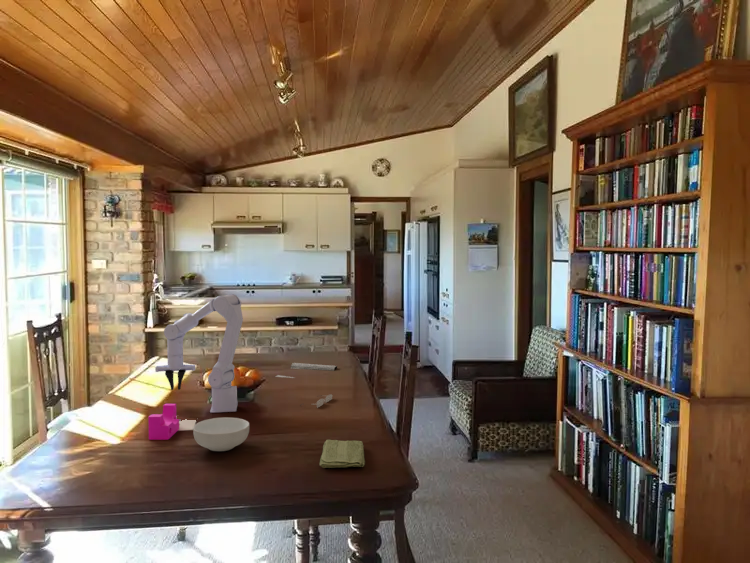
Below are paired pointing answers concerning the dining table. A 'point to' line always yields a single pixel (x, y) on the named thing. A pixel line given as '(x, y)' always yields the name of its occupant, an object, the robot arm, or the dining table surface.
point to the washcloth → (342, 454)
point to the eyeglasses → (323, 400)
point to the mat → (310, 367)
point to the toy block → (163, 423)
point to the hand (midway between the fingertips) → (175, 389)
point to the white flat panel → (186, 424)
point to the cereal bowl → (221, 433)
